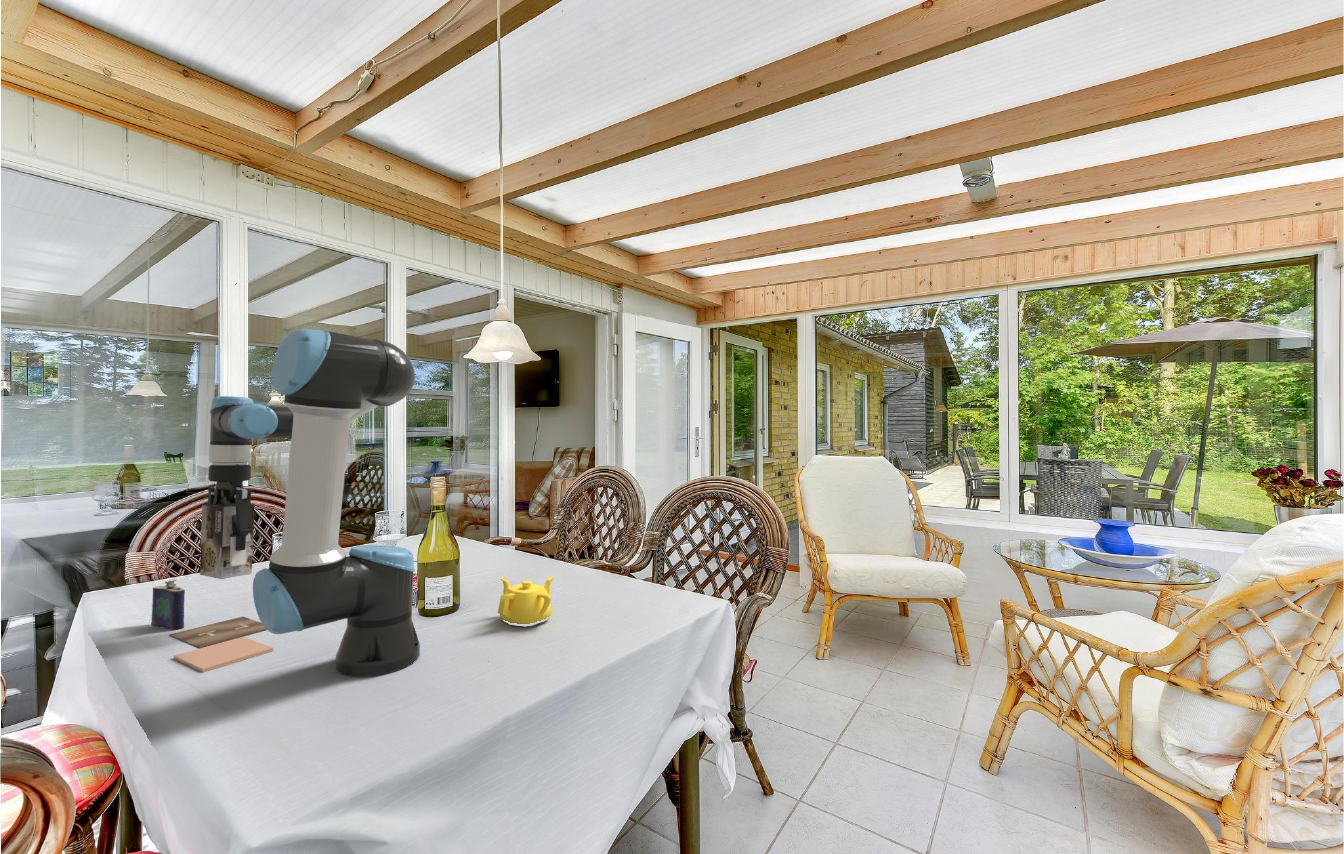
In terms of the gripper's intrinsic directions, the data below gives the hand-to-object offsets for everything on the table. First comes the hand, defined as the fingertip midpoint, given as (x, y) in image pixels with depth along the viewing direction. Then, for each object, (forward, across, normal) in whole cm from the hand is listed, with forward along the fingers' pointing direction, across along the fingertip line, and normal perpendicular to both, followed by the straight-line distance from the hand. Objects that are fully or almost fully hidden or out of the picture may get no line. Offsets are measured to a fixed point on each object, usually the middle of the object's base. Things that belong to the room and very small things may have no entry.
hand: (226, 562), depth 122 cm
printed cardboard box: (+3, 0, 0) cm, 3 cm away
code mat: (+16, 0, 0) cm, 16 cm away
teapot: (+17, -52, -42) cm, 69 cm away
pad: (+16, -14, +6) cm, 22 cm away
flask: (+16, +14, +5) cm, 22 cm away
